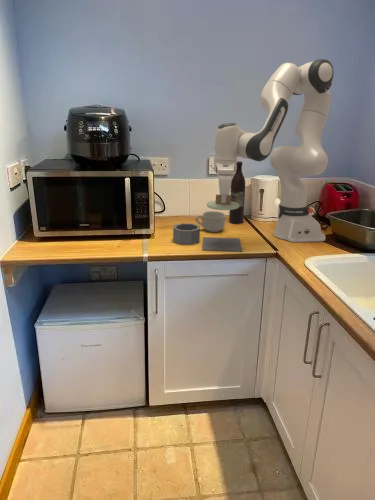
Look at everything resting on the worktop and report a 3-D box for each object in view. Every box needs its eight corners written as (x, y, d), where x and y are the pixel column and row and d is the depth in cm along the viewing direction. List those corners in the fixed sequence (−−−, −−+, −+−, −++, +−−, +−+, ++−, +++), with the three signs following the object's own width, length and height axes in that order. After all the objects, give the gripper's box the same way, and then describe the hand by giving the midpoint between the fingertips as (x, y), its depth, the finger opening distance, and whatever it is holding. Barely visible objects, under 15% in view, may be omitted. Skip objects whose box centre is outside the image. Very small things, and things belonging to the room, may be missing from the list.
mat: (239, 239, 166) (239, 238, 166) (242, 251, 151) (242, 250, 151) (203, 237, 167) (203, 237, 167) (202, 250, 152) (202, 249, 152)
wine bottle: (226, 222, 191) (229, 161, 180) (234, 219, 196) (237, 160, 185) (238, 224, 187) (241, 163, 176) (245, 222, 192) (249, 161, 181)
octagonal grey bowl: (200, 236, 168) (200, 223, 166) (199, 245, 158) (199, 231, 156) (175, 235, 169) (175, 223, 167) (172, 244, 159) (172, 230, 156)
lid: (238, 203, 159) (238, 192, 157) (240, 210, 147) (240, 199, 145) (207, 202, 160) (207, 191, 158) (206, 209, 147) (207, 198, 146)
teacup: (224, 227, 182) (225, 211, 180) (224, 234, 172) (225, 217, 169) (196, 226, 184) (196, 210, 181) (194, 233, 173) (194, 216, 171)
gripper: (216, 163, 158) (215, 196, 162) (217, 170, 138) (215, 207, 143) (231, 163, 157) (230, 196, 162) (234, 170, 138) (232, 207, 143)
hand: (223, 201), depth 152 cm, fingers closed on lid, 2 cm apart
